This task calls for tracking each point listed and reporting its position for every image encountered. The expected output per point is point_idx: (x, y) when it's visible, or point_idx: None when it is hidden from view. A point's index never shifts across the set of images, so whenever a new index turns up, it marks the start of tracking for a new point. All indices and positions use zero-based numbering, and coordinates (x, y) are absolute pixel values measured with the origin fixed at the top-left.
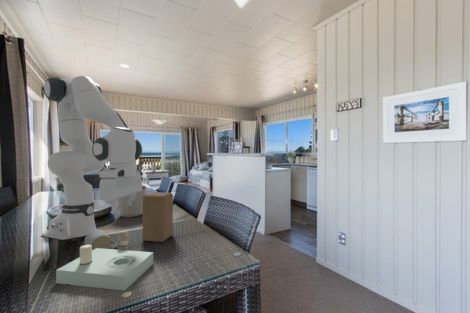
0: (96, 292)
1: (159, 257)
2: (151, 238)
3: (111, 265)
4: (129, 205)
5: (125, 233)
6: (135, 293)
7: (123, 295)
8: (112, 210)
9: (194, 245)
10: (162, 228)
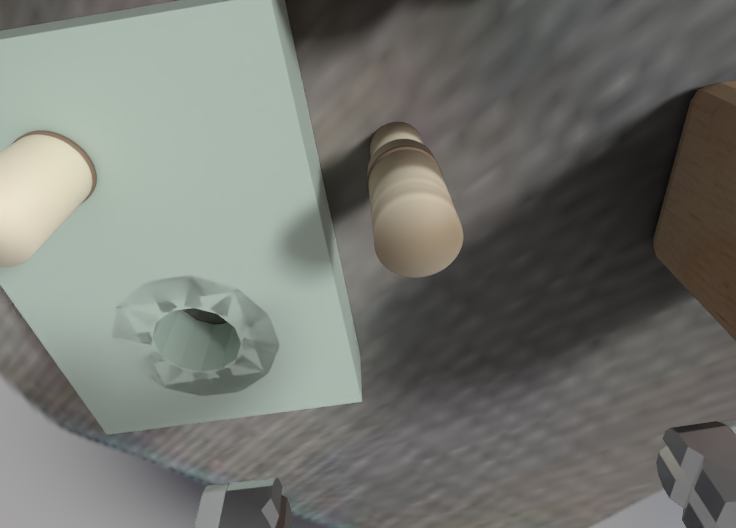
0: None
1: (434, 340)
2: (680, 183)
3: (135, 329)
4: (666, 439)
5: (399, 271)
6: None
7: None
8: (207, 504)
9: (610, 405)
10: (712, 315)
